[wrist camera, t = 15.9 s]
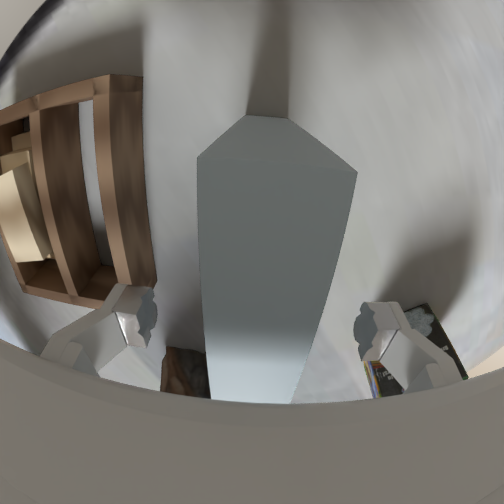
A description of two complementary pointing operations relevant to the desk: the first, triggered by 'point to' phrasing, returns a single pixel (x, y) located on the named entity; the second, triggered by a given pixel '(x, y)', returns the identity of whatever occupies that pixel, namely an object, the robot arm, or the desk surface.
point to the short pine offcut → (23, 216)
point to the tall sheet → (267, 253)
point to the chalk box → (429, 328)
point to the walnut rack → (74, 194)
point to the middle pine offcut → (17, 159)
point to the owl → (185, 373)
